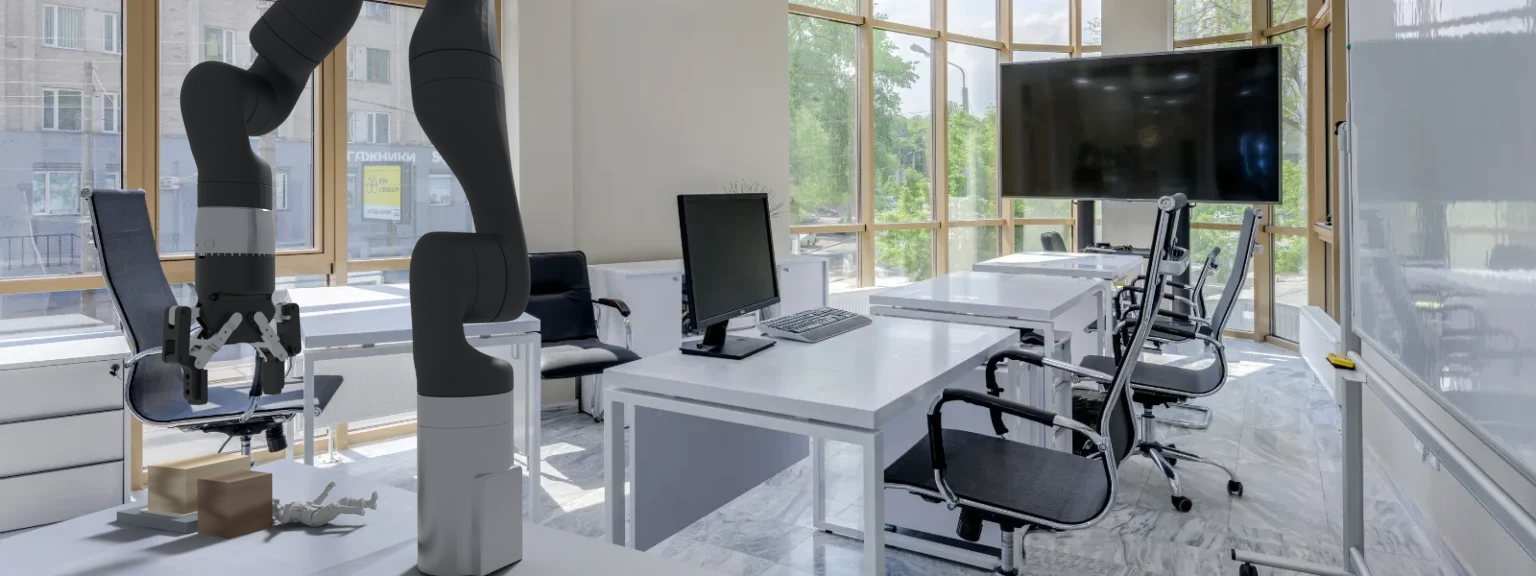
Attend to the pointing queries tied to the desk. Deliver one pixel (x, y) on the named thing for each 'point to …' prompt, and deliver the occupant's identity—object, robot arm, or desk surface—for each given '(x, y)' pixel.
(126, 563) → the desk surface
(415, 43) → the robot arm
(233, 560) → the desk surface
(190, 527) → the board
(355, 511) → the soldier figure
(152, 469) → the maple block
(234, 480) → the walnut cube
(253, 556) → the desk surface
